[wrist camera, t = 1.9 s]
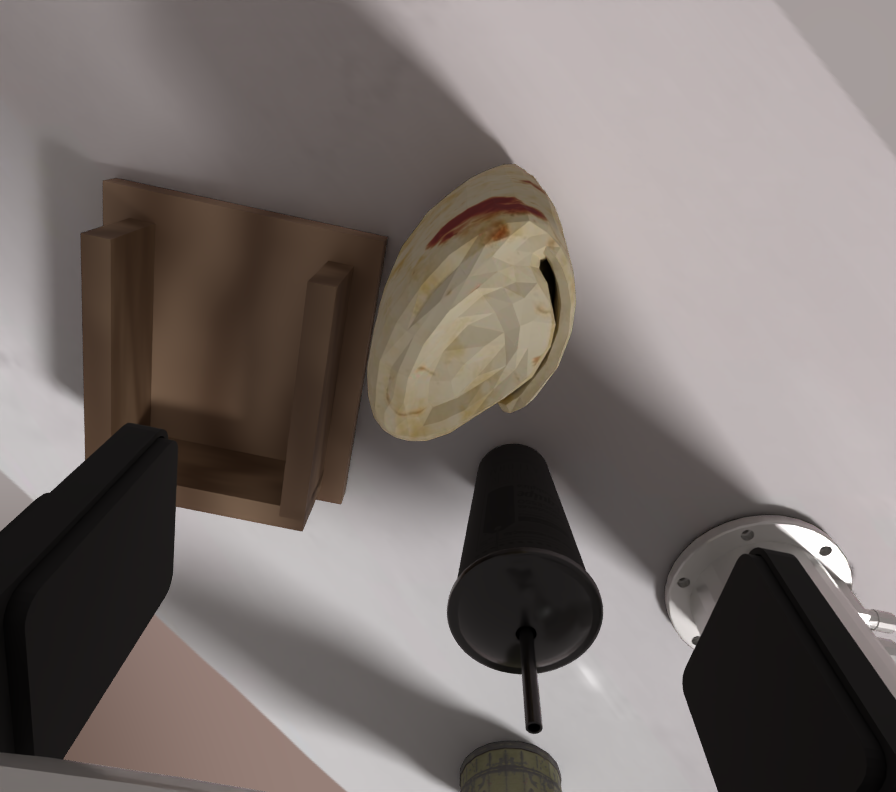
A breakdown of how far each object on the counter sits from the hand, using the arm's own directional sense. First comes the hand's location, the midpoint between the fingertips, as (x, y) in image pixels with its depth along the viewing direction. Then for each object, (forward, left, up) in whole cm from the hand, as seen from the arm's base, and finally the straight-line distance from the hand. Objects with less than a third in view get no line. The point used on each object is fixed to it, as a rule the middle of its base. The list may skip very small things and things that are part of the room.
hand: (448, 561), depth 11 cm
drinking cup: (-6, +15, -31) cm, 35 cm away
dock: (+13, +10, -30) cm, 34 cm away
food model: (0, 0, -31) cm, 31 cm away
